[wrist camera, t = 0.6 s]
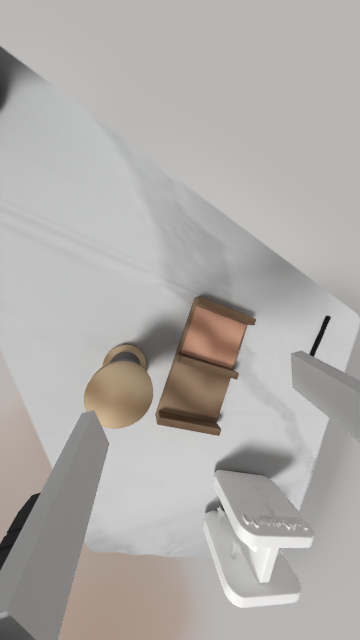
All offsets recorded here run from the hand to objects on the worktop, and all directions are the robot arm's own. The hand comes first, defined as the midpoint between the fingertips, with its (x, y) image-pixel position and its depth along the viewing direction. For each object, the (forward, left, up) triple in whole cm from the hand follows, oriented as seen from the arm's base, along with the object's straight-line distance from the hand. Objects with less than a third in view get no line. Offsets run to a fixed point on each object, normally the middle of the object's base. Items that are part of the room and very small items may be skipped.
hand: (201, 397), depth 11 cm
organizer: (+25, +26, -21) cm, 42 cm away
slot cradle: (+1, +10, -21) cm, 23 cm away
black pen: (-12, +36, -21) cm, 43 cm away
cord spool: (+5, -4, -21) cm, 22 cm away
